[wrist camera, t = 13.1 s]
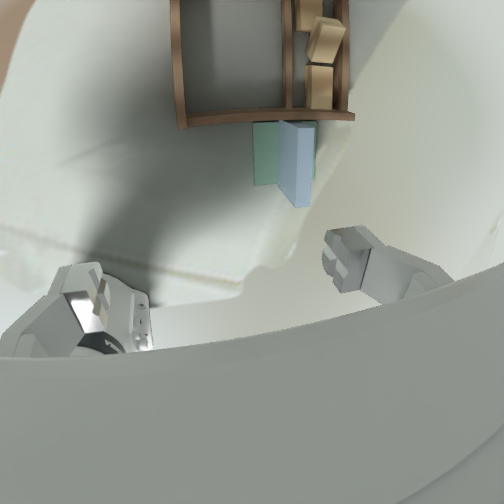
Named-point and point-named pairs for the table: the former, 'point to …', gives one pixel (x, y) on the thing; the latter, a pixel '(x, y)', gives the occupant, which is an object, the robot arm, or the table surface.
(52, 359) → the robot arm
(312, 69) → the offcut
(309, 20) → the offcut
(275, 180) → the pad
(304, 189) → the sheet
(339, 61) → the rack
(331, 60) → the offcut top
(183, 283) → the table surface
